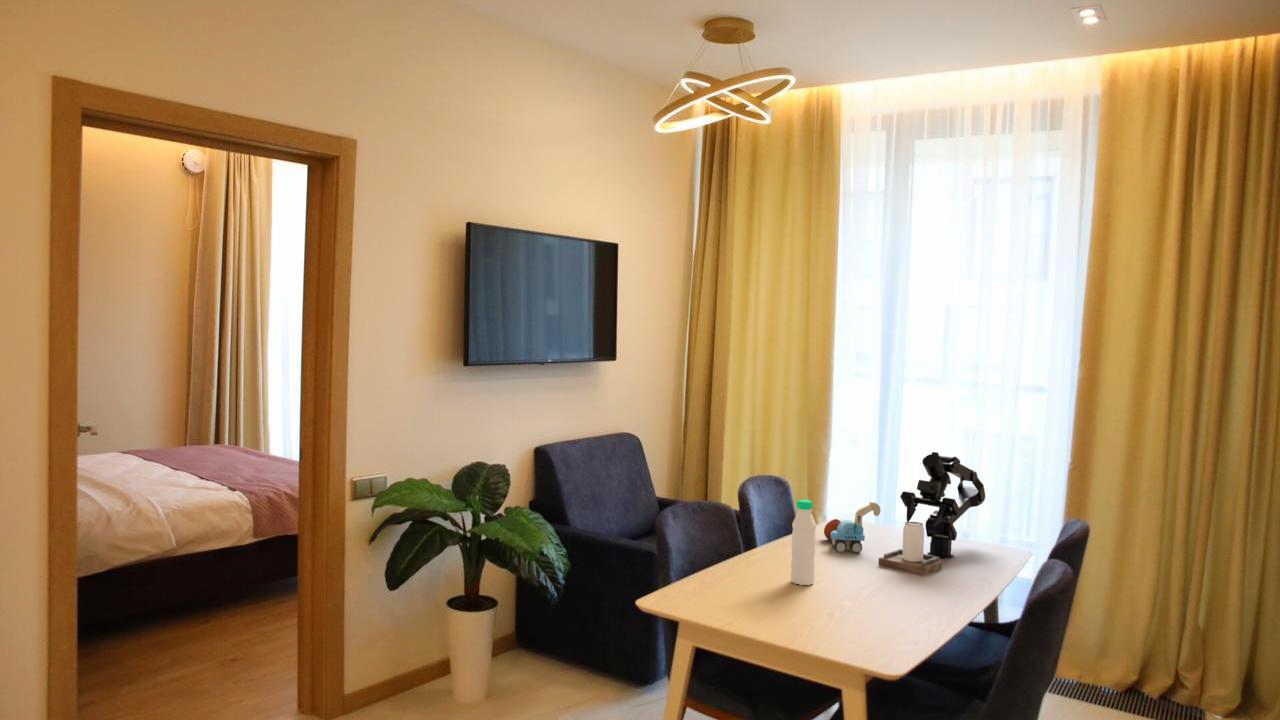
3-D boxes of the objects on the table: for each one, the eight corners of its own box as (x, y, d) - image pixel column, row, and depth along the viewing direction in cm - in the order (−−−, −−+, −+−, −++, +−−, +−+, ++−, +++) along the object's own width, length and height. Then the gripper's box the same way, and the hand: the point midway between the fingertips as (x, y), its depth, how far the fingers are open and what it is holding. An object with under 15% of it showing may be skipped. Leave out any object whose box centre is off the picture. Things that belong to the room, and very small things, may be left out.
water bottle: (818, 583, 275) (821, 501, 274) (805, 587, 270) (808, 504, 269) (798, 578, 280) (801, 497, 279) (785, 582, 275) (788, 500, 274)
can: (919, 563, 291) (920, 526, 290) (899, 560, 294) (900, 523, 294) (925, 559, 296) (926, 523, 296) (905, 556, 300) (907, 520, 299)
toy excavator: (881, 554, 312) (883, 504, 311) (832, 553, 312) (834, 503, 311) (875, 548, 320) (877, 499, 320) (828, 546, 321) (829, 498, 320)
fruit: (843, 545, 323) (844, 523, 322) (820, 541, 328) (820, 519, 327) (852, 541, 330) (853, 519, 330) (829, 537, 335) (830, 515, 335)
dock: (896, 559, 305) (896, 548, 305) (941, 569, 294) (942, 557, 294) (878, 565, 297) (878, 554, 297) (924, 576, 286) (924, 564, 286)
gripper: (903, 467, 309) (886, 503, 301) (956, 474, 296) (940, 513, 289) (914, 487, 315) (897, 524, 308) (966, 495, 302) (950, 533, 295)
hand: (920, 523), depth 299 cm, fingers open, 9 cm apart
